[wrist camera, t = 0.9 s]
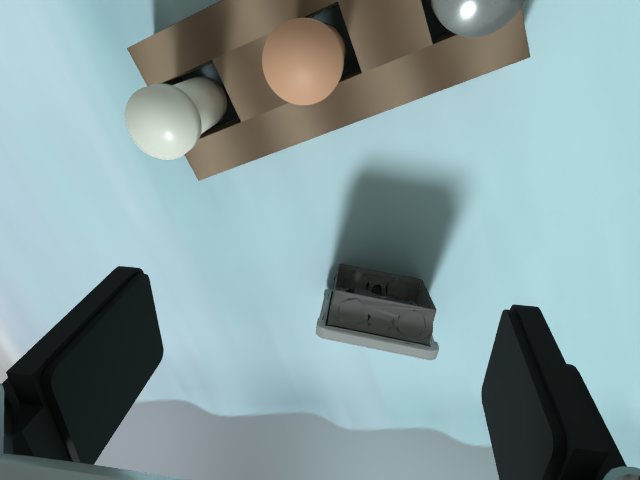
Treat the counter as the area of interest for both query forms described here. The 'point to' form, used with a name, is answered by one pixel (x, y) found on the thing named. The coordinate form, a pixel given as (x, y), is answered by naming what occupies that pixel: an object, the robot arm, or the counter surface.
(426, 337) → the electrical switch
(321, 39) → the plug terracotta
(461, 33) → the plug grey
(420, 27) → the socket board
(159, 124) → the plug ivory
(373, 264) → the counter surface
